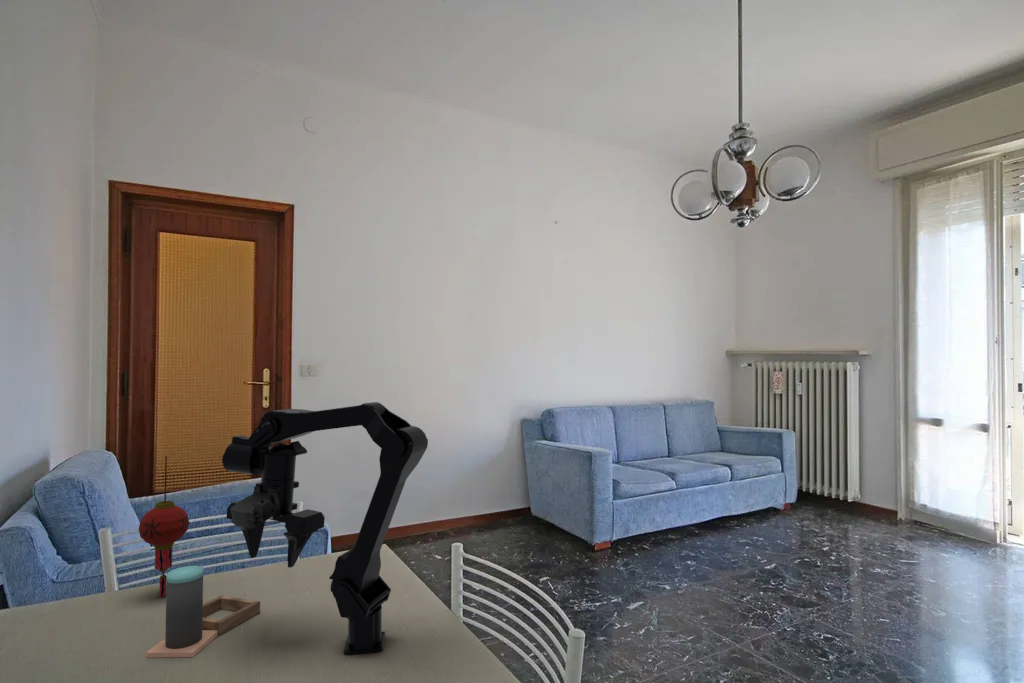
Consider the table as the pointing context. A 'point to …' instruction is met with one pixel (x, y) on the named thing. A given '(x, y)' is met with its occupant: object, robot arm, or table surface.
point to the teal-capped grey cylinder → (184, 607)
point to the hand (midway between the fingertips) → (271, 562)
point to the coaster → (190, 651)
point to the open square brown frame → (242, 613)
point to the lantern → (163, 532)
